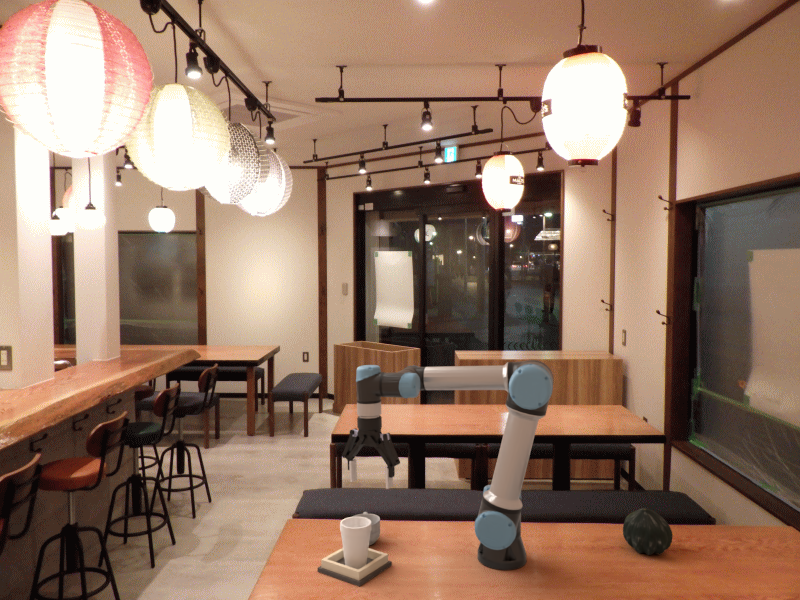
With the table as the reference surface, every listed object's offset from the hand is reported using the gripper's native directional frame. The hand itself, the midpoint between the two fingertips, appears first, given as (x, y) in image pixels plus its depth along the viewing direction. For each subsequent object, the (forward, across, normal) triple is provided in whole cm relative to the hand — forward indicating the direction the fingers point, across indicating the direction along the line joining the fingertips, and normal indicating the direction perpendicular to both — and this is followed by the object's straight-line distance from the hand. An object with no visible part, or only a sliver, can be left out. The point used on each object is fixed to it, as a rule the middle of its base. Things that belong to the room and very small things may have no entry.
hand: (371, 484), depth 192 cm
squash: (+27, -70, -56) cm, 93 cm away
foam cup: (+23, +2, +6) cm, 24 cm away
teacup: (+25, +12, -12) cm, 30 cm away
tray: (+24, +2, +6) cm, 25 cm away
